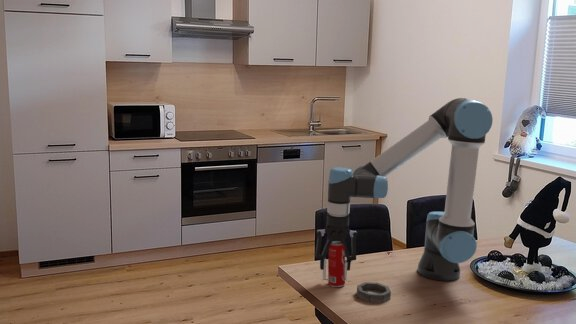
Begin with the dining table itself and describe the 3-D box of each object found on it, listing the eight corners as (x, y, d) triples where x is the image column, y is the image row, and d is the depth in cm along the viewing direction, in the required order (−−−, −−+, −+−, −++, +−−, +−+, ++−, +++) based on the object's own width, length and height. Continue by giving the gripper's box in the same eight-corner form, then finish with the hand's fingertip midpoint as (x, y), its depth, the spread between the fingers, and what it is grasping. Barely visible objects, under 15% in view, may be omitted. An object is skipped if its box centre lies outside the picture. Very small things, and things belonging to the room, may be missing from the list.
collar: (385, 289, 189) (386, 282, 189) (392, 303, 179) (392, 295, 179) (355, 289, 189) (355, 282, 189) (359, 302, 179) (360, 294, 178)
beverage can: (344, 288, 189) (346, 246, 186) (324, 286, 190) (327, 244, 187) (345, 282, 195) (348, 240, 192) (327, 280, 196) (329, 239, 193)
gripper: (365, 211, 192) (360, 275, 196) (308, 209, 192) (305, 273, 196) (368, 217, 185) (364, 283, 189) (310, 215, 184) (306, 282, 188)
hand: (334, 278), depth 192 cm, fingers open, 6 cm apart
